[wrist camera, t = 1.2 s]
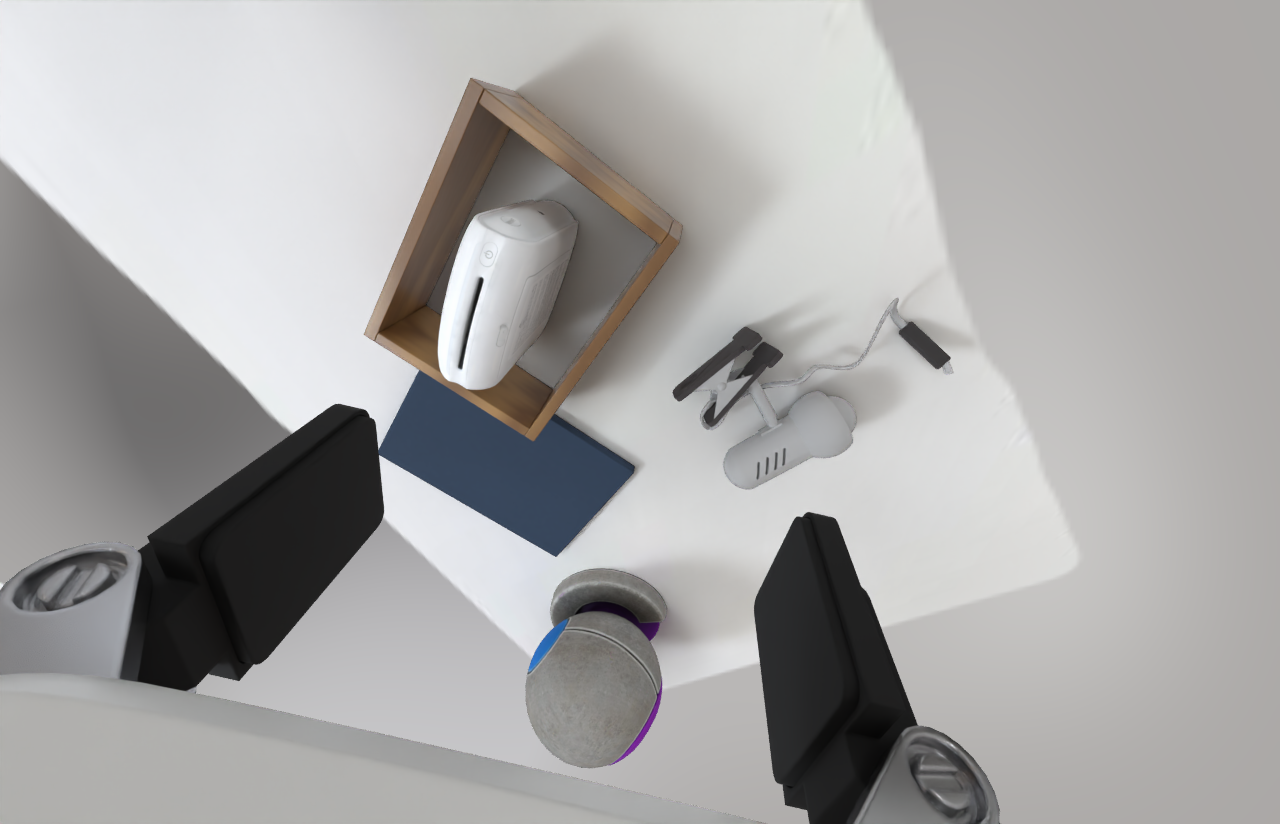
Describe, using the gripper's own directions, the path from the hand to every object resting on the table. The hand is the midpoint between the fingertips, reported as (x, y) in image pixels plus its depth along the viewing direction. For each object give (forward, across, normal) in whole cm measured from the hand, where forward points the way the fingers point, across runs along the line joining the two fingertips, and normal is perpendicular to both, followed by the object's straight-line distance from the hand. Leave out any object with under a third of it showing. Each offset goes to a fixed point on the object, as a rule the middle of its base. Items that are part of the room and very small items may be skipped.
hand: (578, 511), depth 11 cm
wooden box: (+27, +9, +3) cm, 29 cm away
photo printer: (+27, +9, +3) cm, 29 cm away
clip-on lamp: (+27, -13, +6) cm, 31 cm away
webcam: (+27, -3, +39) cm, 47 cm away
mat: (+27, +10, +21) cm, 36 cm away
